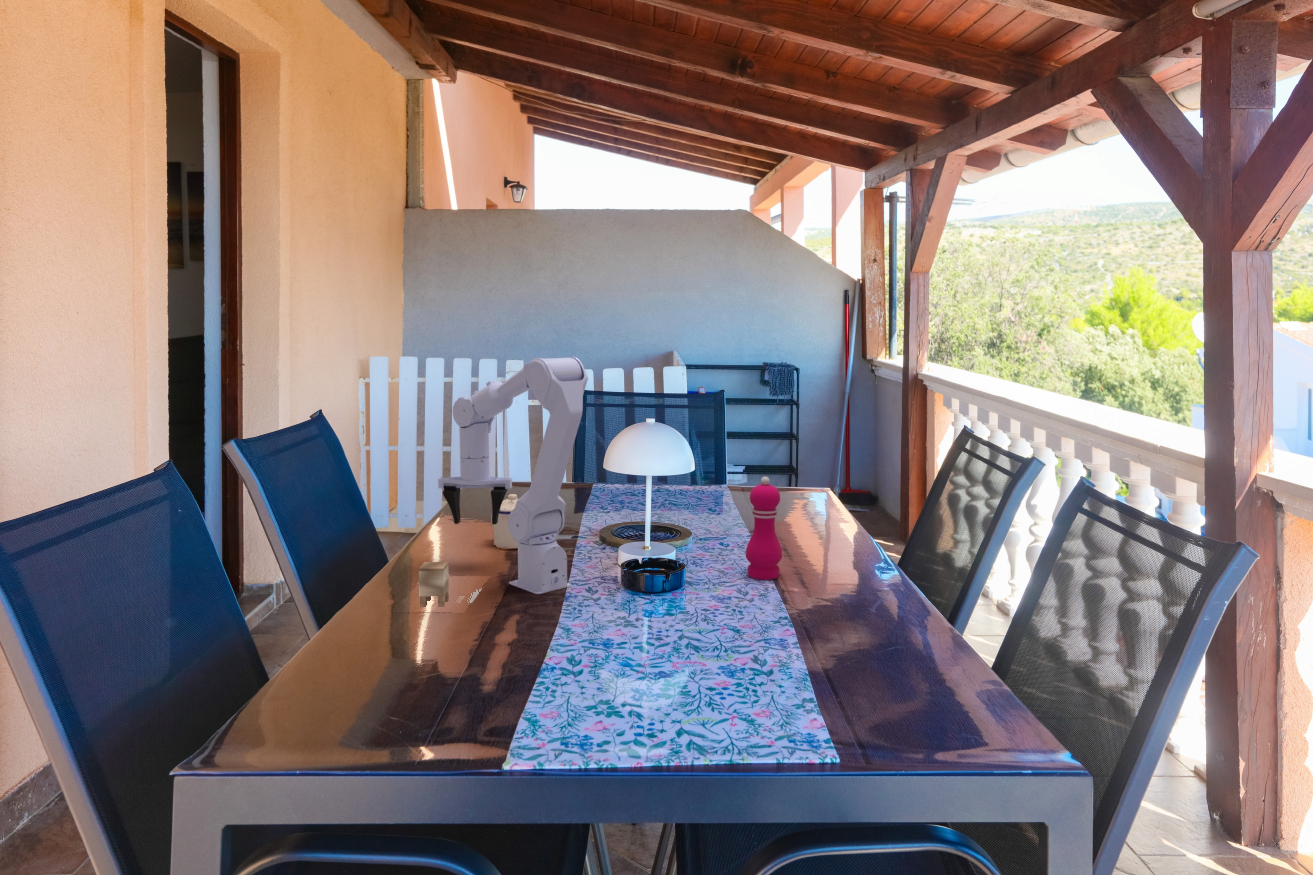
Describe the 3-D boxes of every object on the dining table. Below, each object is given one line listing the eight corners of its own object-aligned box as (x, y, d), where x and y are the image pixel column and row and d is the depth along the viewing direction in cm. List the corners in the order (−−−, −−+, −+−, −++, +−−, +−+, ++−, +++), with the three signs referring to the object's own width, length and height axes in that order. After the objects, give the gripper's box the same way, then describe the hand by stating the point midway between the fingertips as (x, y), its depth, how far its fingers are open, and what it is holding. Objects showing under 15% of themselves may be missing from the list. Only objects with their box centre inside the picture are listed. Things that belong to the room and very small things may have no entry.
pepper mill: (780, 581, 172) (782, 480, 170) (743, 579, 174) (745, 479, 171) (782, 571, 179) (785, 474, 177) (747, 569, 181) (748, 472, 178)
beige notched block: (449, 600, 158) (448, 561, 157) (444, 607, 154) (442, 568, 153) (425, 600, 158) (424, 561, 157) (419, 607, 154) (418, 568, 153)
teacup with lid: (542, 545, 200) (541, 494, 198) (510, 552, 193) (509, 500, 191) (508, 536, 208) (507, 487, 206) (476, 543, 201) (475, 493, 199)
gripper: (514, 454, 181) (515, 519, 183) (444, 453, 182) (445, 518, 184) (507, 459, 174) (508, 526, 176) (434, 458, 175) (436, 526, 177)
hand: (476, 523), depth 179 cm, fingers open, 7 cm apart
